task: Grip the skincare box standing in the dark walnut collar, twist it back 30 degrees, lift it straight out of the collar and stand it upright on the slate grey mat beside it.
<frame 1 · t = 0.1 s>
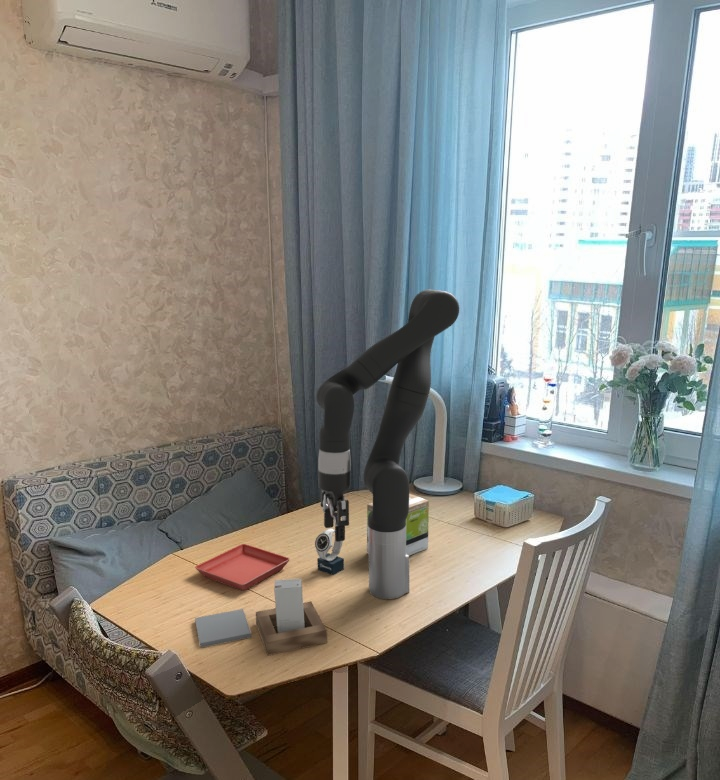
hand: (334, 533, 158), 17 cm above the table, tool pointing down, fingers open, 8 cm apart
walnut collar: (290, 633, 148), on the table
slate mat: (222, 629, 150), on the table
plant saucer: (243, 574, 177), on the table
skincare box: (290, 633, 148), resting in walnut collar
watch: (330, 570, 177), on the table
tea box: (398, 551, 188), on the table
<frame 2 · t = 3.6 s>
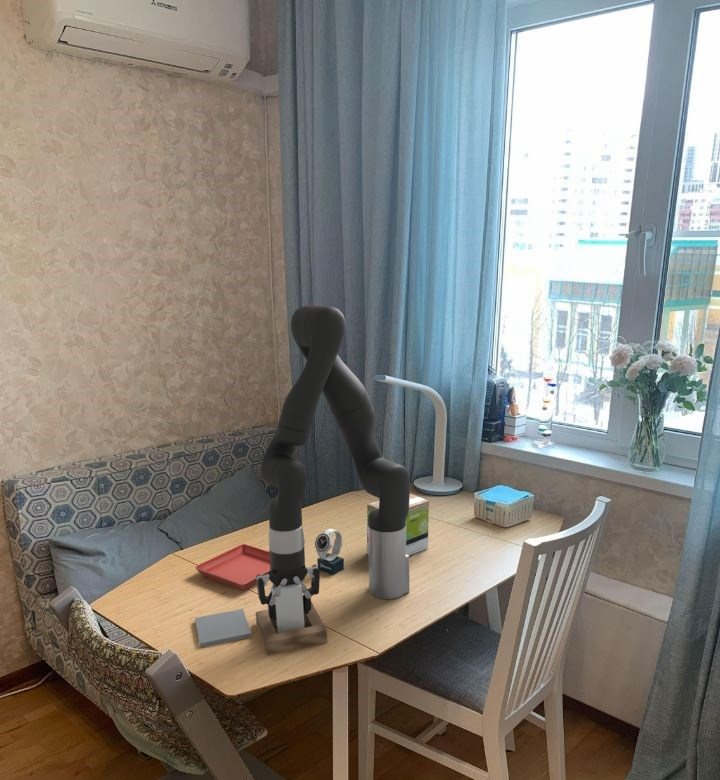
hand: (290, 615, 147), 4 cm above the table, tool pointing down, fingers closed on skincare box, 6 cm apart
skincare box: (290, 633, 148), resting in walnut collar, touching gripper
everything else where it was.
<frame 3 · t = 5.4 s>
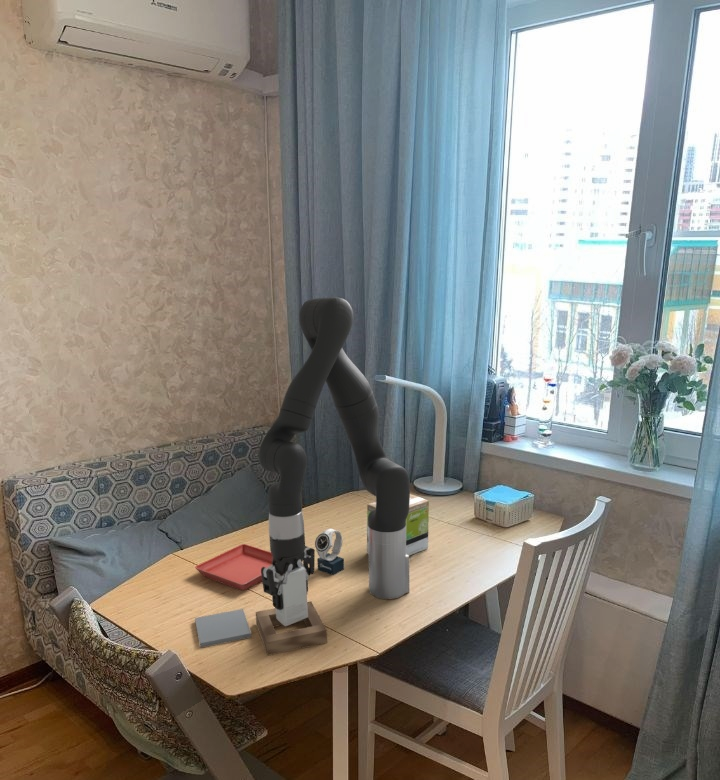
hand: (291, 601, 146), 8 cm above the table, tool pointing down, fingers closed on skincare box, 6 cm apart
skincare box: (292, 620, 147), point 3 cm above the table, touching gripper
everything else where it was.
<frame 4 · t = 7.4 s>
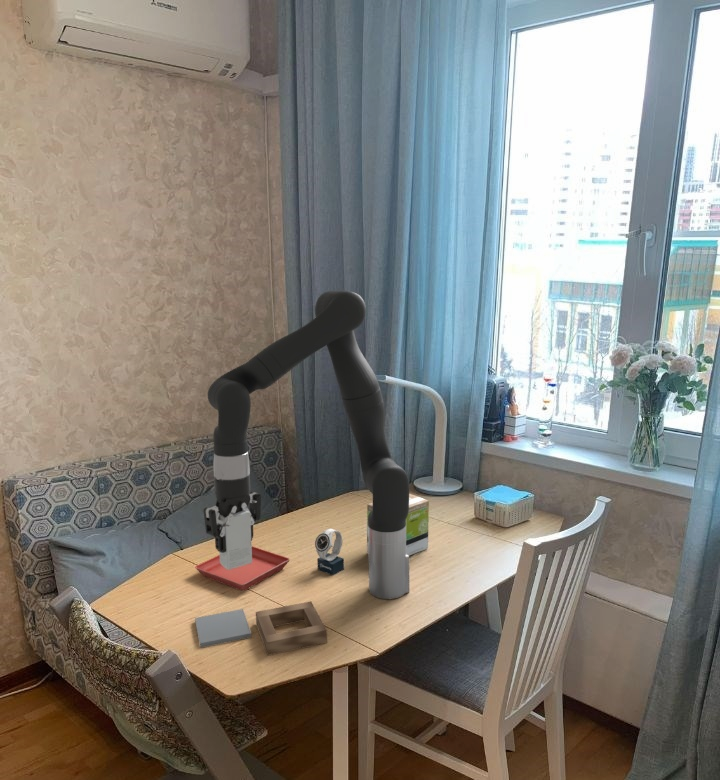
hand: (234, 545, 145), 20 cm above the table, tool pointing down, fingers closed on skincare box, 6 cm apart
skincare box: (235, 565, 146), point 16 cm above the table, touching gripper
everything else where it was.
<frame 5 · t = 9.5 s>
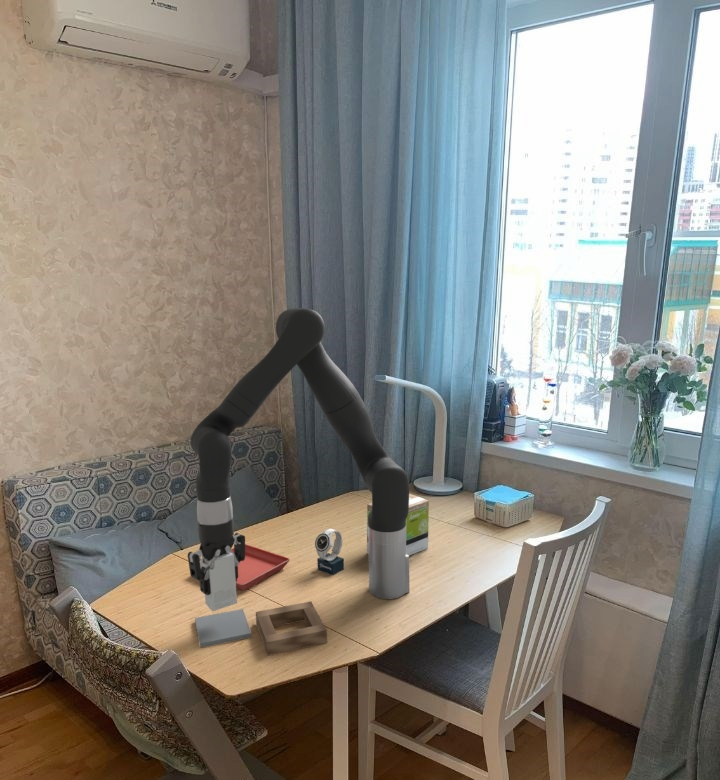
hand: (219, 587, 148), 10 cm above the table, tool pointing down, fingers closed on skincare box, 6 cm apart
skincare box: (221, 605, 149), point 6 cm above the table, touching gripper
everything else where it was.
when the fingers open (6 cm above the table, at t = 11.3 s): skincare box stays where it is, resting on slate mat.
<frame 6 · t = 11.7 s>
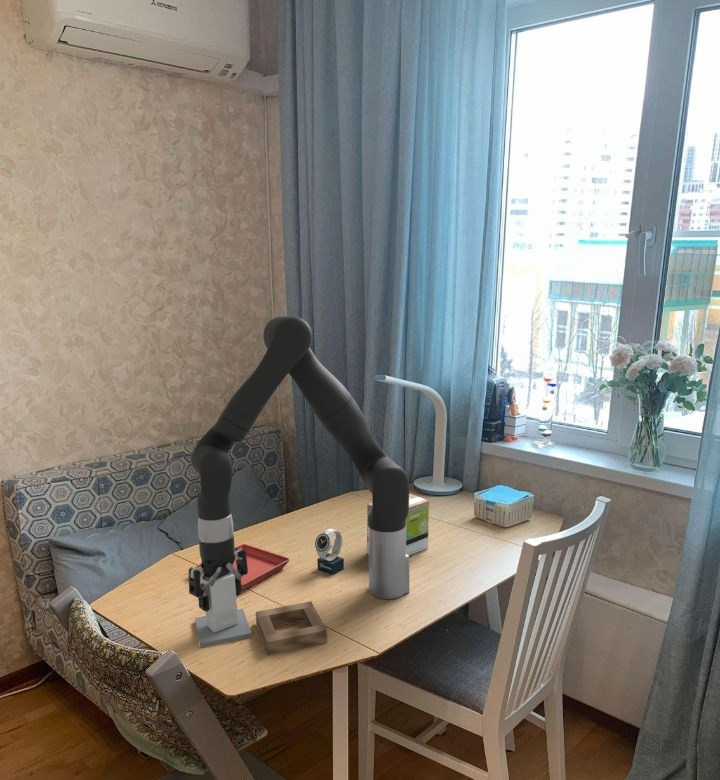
hand: (220, 602, 149), 7 cm above the table, tool pointing down, fingers open, 8 cm apart
skincare box: (222, 626, 150), point 1 cm above the table, touching slate mat
everything else where it was.
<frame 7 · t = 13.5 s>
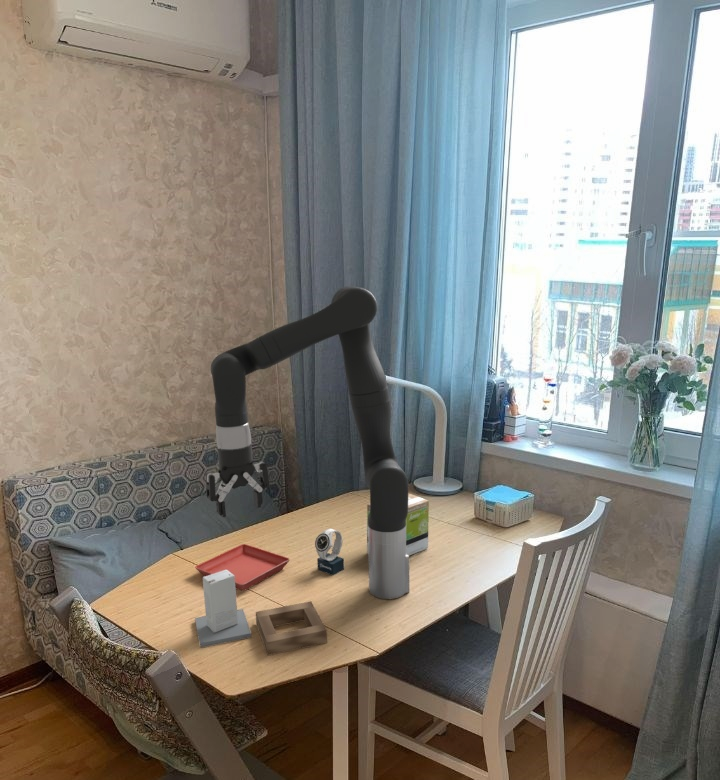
hand: (240, 511, 152), 25 cm above the table, tool pointing down, fingers open, 8 cm apart
nothing on the table moved.
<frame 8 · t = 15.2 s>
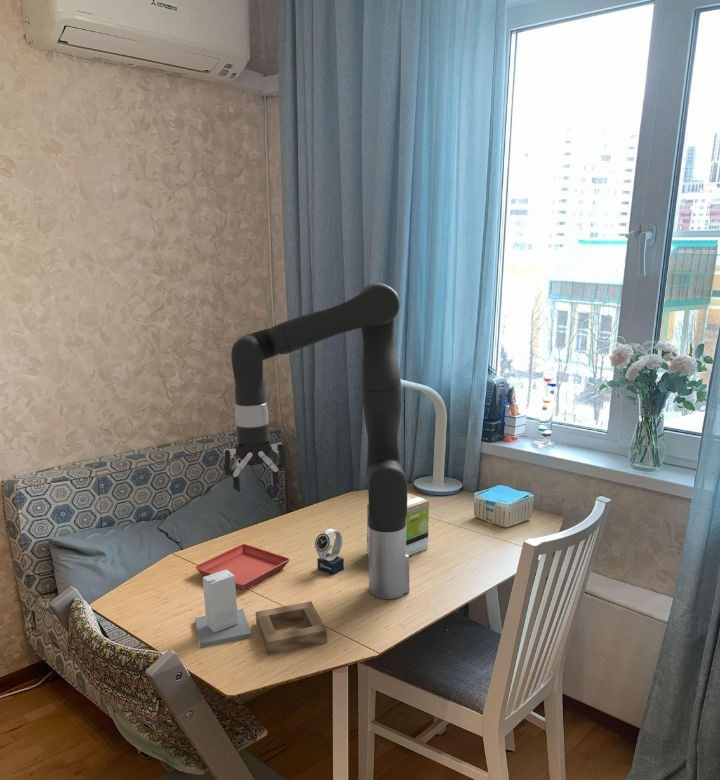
hand: (255, 488, 158), 28 cm above the table, tool pointing down, fingers open, 8 cm apart
nothing on the table moved.
at the end: skincare box inside the target area on the slate mat (0.1 cm from its centre), point 0.8 cm above the slate mat's base; skincare box tilted 0°; the gripper is holding nothing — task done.
